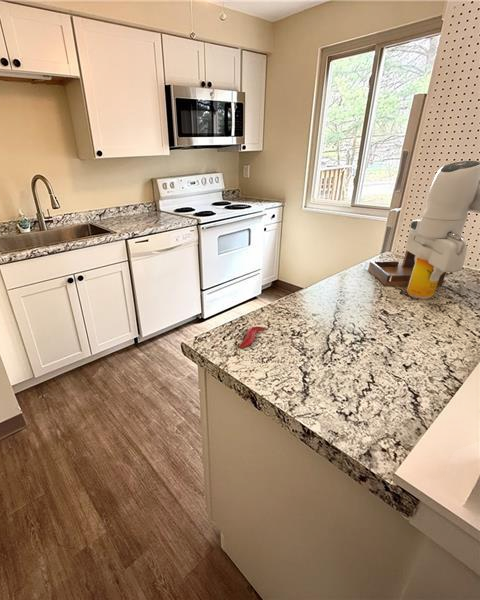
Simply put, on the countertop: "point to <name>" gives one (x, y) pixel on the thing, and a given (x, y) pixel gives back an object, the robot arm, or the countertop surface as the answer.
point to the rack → (396, 271)
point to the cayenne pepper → (250, 336)
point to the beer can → (422, 276)
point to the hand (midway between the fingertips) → (425, 275)
